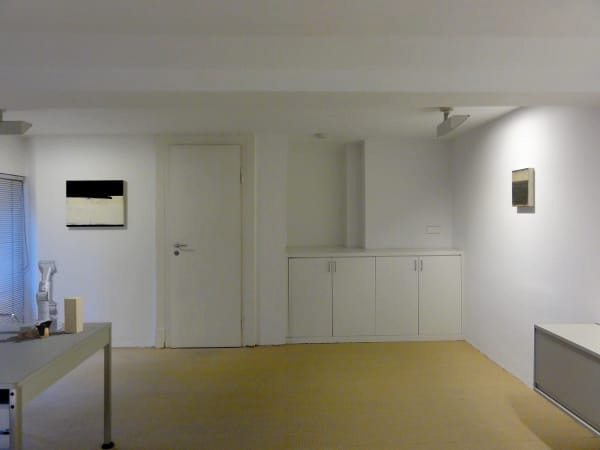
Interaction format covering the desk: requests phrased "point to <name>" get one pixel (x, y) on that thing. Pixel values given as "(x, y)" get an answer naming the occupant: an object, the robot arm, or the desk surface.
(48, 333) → the orange capsule
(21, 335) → the brown square box
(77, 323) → the tan wooden block
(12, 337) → the desk surface
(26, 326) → the slate block
